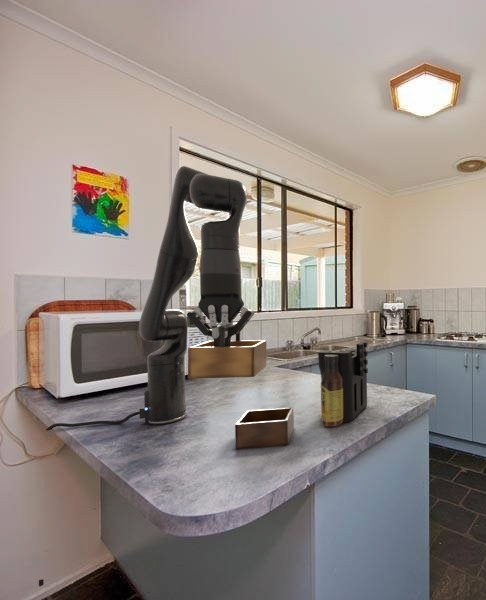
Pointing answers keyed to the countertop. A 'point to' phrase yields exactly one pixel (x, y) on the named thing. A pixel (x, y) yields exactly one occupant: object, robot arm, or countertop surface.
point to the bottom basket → (264, 428)
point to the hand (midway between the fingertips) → (222, 355)
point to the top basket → (227, 358)
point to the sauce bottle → (331, 393)
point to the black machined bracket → (351, 378)
